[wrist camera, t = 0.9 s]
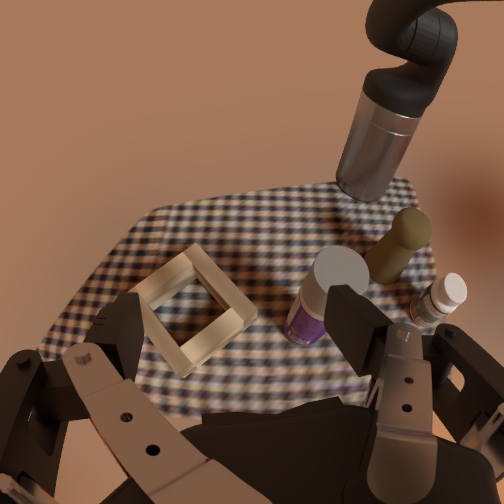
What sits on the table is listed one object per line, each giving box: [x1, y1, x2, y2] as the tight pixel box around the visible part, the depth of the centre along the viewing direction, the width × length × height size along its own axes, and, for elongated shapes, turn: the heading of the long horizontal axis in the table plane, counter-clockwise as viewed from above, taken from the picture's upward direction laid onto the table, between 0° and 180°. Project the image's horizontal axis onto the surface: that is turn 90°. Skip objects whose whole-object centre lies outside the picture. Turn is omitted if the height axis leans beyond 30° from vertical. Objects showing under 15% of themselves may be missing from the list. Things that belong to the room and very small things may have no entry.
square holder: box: [128, 243, 258, 378], centre depth 32 cm, size 11×11×4 cm
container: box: [284, 246, 369, 346], centre depth 27 cm, size 5×5×15 cm
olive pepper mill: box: [364, 207, 432, 285], centre depth 33 cm, size 6×6×11 cm
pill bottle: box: [410, 273, 467, 327], centre depth 31 cm, size 5×5×8 cm
